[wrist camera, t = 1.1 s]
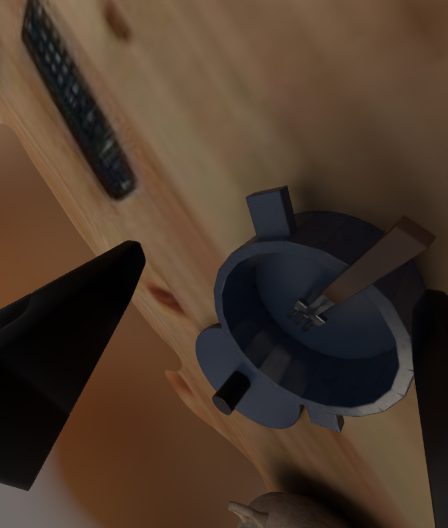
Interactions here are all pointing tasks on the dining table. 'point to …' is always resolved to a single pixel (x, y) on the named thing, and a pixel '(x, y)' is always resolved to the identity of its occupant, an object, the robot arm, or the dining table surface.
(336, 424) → the saucepan
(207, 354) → the lid
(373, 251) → the fork
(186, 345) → the dining table surface
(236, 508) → the cooking pot
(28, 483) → the robot arm
